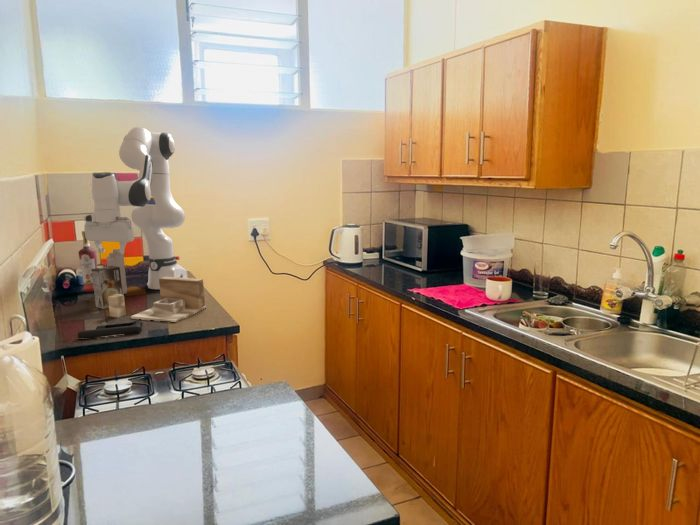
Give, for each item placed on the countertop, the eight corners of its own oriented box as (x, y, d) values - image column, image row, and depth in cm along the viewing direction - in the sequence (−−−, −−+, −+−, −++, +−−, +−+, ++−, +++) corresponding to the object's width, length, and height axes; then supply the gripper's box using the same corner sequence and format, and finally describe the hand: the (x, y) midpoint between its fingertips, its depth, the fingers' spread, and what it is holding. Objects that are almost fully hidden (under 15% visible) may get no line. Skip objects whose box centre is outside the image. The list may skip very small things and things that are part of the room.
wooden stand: (165, 304, 221) (163, 276, 218) (207, 308, 214) (205, 279, 212) (131, 318, 202) (128, 288, 199) (175, 323, 195) (172, 291, 193)
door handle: (83, 322, 191) (76, 333, 176) (143, 316, 198) (141, 326, 183) (84, 331, 192) (77, 342, 177) (143, 325, 198) (141, 335, 183)
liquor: (102, 288, 250) (96, 230, 244) (97, 292, 243) (90, 232, 237) (86, 289, 249) (79, 230, 243) (80, 293, 242) (73, 232, 236)
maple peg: (117, 313, 208) (115, 294, 207) (125, 314, 207) (123, 294, 206) (110, 316, 205) (107, 296, 203) (118, 317, 203) (116, 297, 202)
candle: (94, 298, 233) (89, 253, 229) (118, 290, 246) (114, 248, 242) (107, 299, 231) (102, 254, 227) (130, 291, 243) (126, 248, 240)
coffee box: (116, 302, 226) (112, 265, 223) (124, 304, 222) (120, 266, 219) (95, 306, 219) (90, 268, 216) (103, 309, 215) (99, 270, 212)
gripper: (136, 216, 198) (139, 252, 201) (92, 215, 205) (96, 250, 207) (124, 218, 192) (127, 255, 195) (79, 217, 199) (83, 253, 201)
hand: (111, 253), depth 201 cm, fingers open, 8 cm apart
